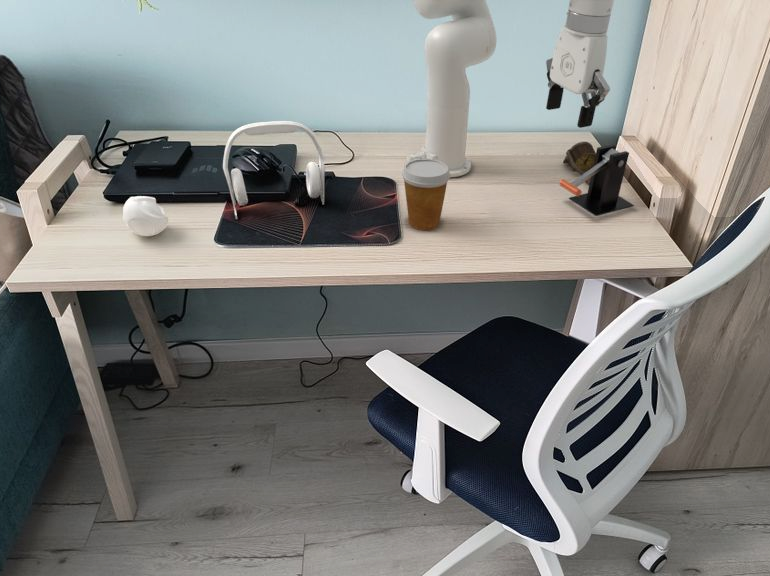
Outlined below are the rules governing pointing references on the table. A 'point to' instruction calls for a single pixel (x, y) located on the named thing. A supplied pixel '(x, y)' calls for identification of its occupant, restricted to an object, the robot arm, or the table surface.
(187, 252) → the table surface
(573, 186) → the lever
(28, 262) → the table surface
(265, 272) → the table surface
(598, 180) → the stand
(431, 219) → the disposable coffee cup
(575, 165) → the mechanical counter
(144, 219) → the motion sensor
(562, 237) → the table surface
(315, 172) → the headset
